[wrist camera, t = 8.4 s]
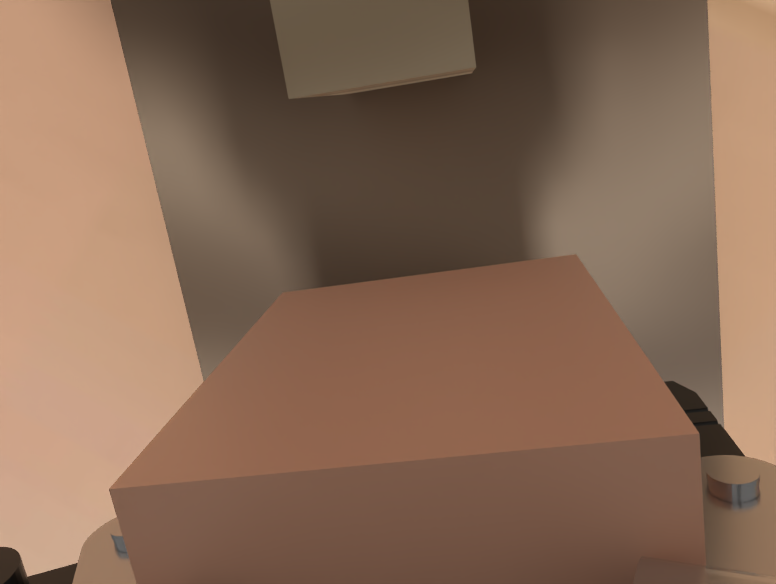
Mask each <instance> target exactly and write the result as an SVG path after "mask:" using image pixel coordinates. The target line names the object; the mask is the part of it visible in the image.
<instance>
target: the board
mask: <svg viewBox="0 0 776 584" xmlns="http://www.w3.org/2000/svg"><path fill="white" fill-rule="evenodd" d="M111 4H112V8H113V12H114V16H115V20H116V24H117V28H118V33H119V37H120V41H121V45H122V49H123V53H124V57H125V61H126V65H127V69H128V73H129V77H130V82H131V86H132V90H133V94H134V98H135V102H136V106H137V110H138V114H139V118H140V122H141V126H142V131H143V135H144V139H145V143H146V147H147V151H148V155H149V159H150V163H151V167H152V171H153V175H154V180H155V184H156V188H157V192H158V196H159V200H160V204H161V208H162V212H163V216H164V220H165V224H166V229H167V233H168V237H169V241H170V245H171V249H172V253H173V257H174V261H175V265H176V269H177V273H178V278H179V282H180V286H181V290H182V294H183V298H184V302H185V306H186V310H187V314H188V318H189V322H190V327H191V331H192V335H193V339H194V343H195V347H196V351H197V355H198V359H199V363H200V367H201V372H202V376H203V380H204V381H205V380H206V379H207V378H208V376H209V375H210V374H211V373H212V372H213V371H214V370H215V368H216V367H217V366H218V365H219V364H220V363H221V362H222V360H223V359H224V358H225V357H226V356H227V355H228V354H229V353H230V351H231V350H232V349H233V348H234V347H235V346H236V345H237V343H238V342H239V341H240V340H241V339H242V338H243V337H244V336H245V334H246V333H247V332H248V331H249V330H250V329H251V328H252V326H253V325H254V324H255V323H256V322H257V321H258V320H259V319H260V317H261V316H262V315H263V314H264V313H265V312H266V311H267V309H268V308H269V307H270V306H271V305H272V304H273V303H274V302H275V300H276V299H277V298H278V297H279V296H280V295H281V294H282V293H283V292H291V291H298V290H306V289H314V288H321V287H329V286H336V285H344V284H352V283H359V282H367V281H375V280H382V279H390V278H398V277H405V276H413V275H421V274H428V273H436V272H444V271H451V270H459V269H466V268H474V267H482V266H489V265H497V264H505V263H512V262H520V261H528V260H535V259H543V258H551V257H558V256H566V255H573V254H576V255H577V256H578V258H579V259H580V261H581V262H582V263H583V265H584V266H585V268H586V269H587V271H588V272H589V274H590V275H591V277H592V278H593V279H594V281H595V282H596V284H597V285H598V287H599V288H600V290H601V291H602V292H603V294H604V295H605V297H606V298H607V300H608V301H609V303H610V304H611V306H612V307H613V308H614V310H615V311H616V313H617V314H618V316H619V317H620V319H621V320H622V322H623V323H624V324H625V326H626V327H627V329H628V330H629V332H630V333H631V335H632V336H633V338H634V339H635V340H636V342H637V343H638V345H639V346H640V348H641V349H642V351H643V352H644V354H645V355H646V356H647V358H648V359H649V361H650V362H651V364H652V365H653V367H654V368H655V370H656V371H657V372H658V374H659V375H660V377H661V378H662V380H663V381H664V382H665V381H674V382H676V383H678V384H680V385H682V386H684V387H686V388H688V389H690V390H692V391H694V392H696V393H697V394H698V396H699V397H700V398H701V399H702V401H703V402H704V403H705V405H706V406H707V407H708V411H711V412H712V414H713V415H714V416H715V418H716V419H717V420H718V424H721V425H722V427H723V428H724V415H723V390H722V365H721V339H720V314H719V288H718V263H717V238H716V212H715V187H714V161H713V136H712V111H711V85H710V60H709V34H708V9H707V0H111Z"/></svg>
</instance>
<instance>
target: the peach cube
mask: <svg viewBox="0 0 776 584" xmlns="http://www.w3.org/2000/svg"><path fill="white" fill-rule="evenodd" d="M109 491H110V495H111V498H112V501H113V505H114V508H115V512H116V515H117V518H118V522H119V525H120V529H121V532H122V536H123V539H124V542H125V546H126V549H127V553H128V556H129V560H130V563H131V566H132V570H133V573H134V577H135V580H136V583H137V584H633V581H634V577H635V573H636V569H637V565H638V562H639V560H640V558H641V557H642V556H644V557H651V558H658V559H665V560H671V561H678V562H685V563H692V564H698V565H705V566H706V550H705V531H704V511H703V492H702V473H701V453H700V434H699V432H698V431H697V429H696V428H695V426H694V425H693V423H692V422H691V420H690V419H689V418H688V416H687V415H686V413H685V412H684V410H683V409H682V407H681V406H680V404H679V403H678V402H677V400H676V399H675V397H674V396H673V394H672V393H671V391H670V390H669V388H668V387H667V386H666V384H665V383H664V381H663V380H662V378H661V377H660V375H659V374H658V372H657V371H656V370H655V368H654V367H653V365H652V364H651V362H650V361H649V359H648V358H647V356H646V355H645V354H644V352H643V351H642V349H641V348H640V346H639V345H638V343H637V342H636V340H635V339H634V338H633V336H632V335H631V333H630V332H629V330H628V329H627V327H626V326H625V324H624V323H623V322H622V320H621V319H620V317H619V316H618V314H617V313H616V311H615V310H614V308H613V307H612V306H611V304H610V303H609V301H608V300H607V298H606V297H605V295H604V294H603V292H602V291H601V290H600V288H599V287H598V285H597V284H596V282H595V281H594V279H593V278H592V277H591V275H590V274H589V272H588V271H587V269H586V268H585V266H584V265H583V263H582V262H581V261H580V259H579V258H578V256H577V255H576V254H573V255H566V256H558V257H551V258H543V259H535V260H528V261H520V262H512V263H505V264H497V265H489V266H482V267H474V268H466V269H459V270H451V271H444V272H436V273H428V274H421V275H413V276H405V277H398V278H390V279H382V280H375V281H367V282H359V283H352V284H344V285H336V286H329V287H321V288H314V289H306V290H298V291H291V292H283V293H282V294H281V295H280V296H279V297H278V298H277V299H276V300H275V302H274V303H273V304H272V305H271V306H270V307H269V308H268V309H267V311H266V312H265V313H264V314H263V315H262V316H261V317H260V319H259V320H258V321H257V322H256V323H255V324H254V325H253V326H252V328H251V329H250V330H249V331H248V332H247V333H246V334H245V336H244V337H243V338H242V339H241V340H240V341H239V342H238V343H237V345H236V346H235V347H234V348H233V349H232V350H231V351H230V353H229V354H228V355H227V356H226V357H225V358H224V359H223V360H222V362H221V363H220V364H219V365H218V366H217V367H216V368H215V370H214V371H213V372H212V373H211V374H210V375H209V376H208V378H207V379H206V380H205V381H204V382H203V383H202V384H201V385H200V387H199V388H198V389H197V390H196V391H195V392H194V393H193V395H192V396H191V397H190V398H189V399H188V400H187V401H186V402H185V404H184V405H183V406H182V407H181V408H180V409H179V410H178V412H177V413H176V414H175V415H174V416H173V417H172V418H171V419H170V421H169V422H168V423H167V424H166V425H165V426H164V427H163V429H162V430H161V431H160V432H159V433H158V434H157V435H156V436H155V438H154V439H153V440H152V441H151V442H150V443H149V444H148V446H147V447H146V448H145V449H144V450H143V451H142V452H141V453H140V455H139V456H138V457H137V458H136V459H135V460H134V461H133V463H132V464H131V465H130V466H129V467H128V468H127V469H126V471H125V472H124V473H123V474H122V475H121V476H120V477H119V478H118V480H117V481H116V482H115V483H114V484H113V485H112V486H111V488H110V489H109Z"/></svg>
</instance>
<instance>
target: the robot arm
mask: <svg viewBox="0 0 776 584" xmlns="http://www.w3.org/2000/svg"><path fill="white" fill-rule="evenodd" d="M664 383H665V384H666V386H667V387H668V388H669V390H670V391H671V393H672V394H673V396H674V397H675V399H676V400H677V402H678V403H679V404H680V406H681V407H682V409H683V410H684V412H685V413H686V415H687V416H688V418H689V419H690V420H691V422H692V423H693V425H694V426H695V428H696V429H697V431H698V432H699V434H700V453H701V473H702V492H703V511H704V531H705V550H706V566H705V565H698V564H692V563H685V562H678V561H671V560H665V559H658V558H651V557H644V556H642V557H641V558H640V560H639V562H638V565H637V569H636V573H635V577H634V581H633V584H776V466H775V465H773V464H771V463H768V462H765V461H762V460H758V459H754V458H749V457H745V455H744V454H743V453H742V452H741V450H740V449H739V448H738V446H737V445H736V444H735V442H734V441H733V440H732V439H731V437H730V436H729V435H728V433H727V432H726V431H725V429H724V428H723V427H722V425H721V424H718V420H717V419H716V418H715V416H714V415H713V414H712V412H711V411H708V407H707V406H706V405H705V403H704V402H703V401H702V399H701V398H700V397H699V396H698V394H697V393H696V392H694V391H692V390H690V389H688V388H686V387H684V386H682V385H680V384H678V383H676V382H674V381H665V382H664ZM0 584H137V583H136V580H135V577H134V573H133V570H132V566H131V563H130V560H129V556H128V553H127V549H126V546H125V542H124V539H123V536H122V532H121V529H120V525H119V522H118V518H117V517H116V518H114V519H112V520H111V521H109V522H107V523H105V524H104V525H103V526H101V527H100V528H98V529H97V530H96V531H95V532H94V533H92V534H91V535H90V536H89V538H88V539H87V540H86V541H85V543H84V544H83V547H82V549H81V553H80V556H79V560H78V563H76V564H72V565H69V566H65V567H62V568H58V569H54V570H51V571H47V572H43V573H40V574H36V575H32V576H29V577H27V575H26V572H25V569H24V566H23V563H22V560H21V557H20V555H19V553H18V552H17V551H16V550H14V549H12V548H8V547H0Z"/></svg>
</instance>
